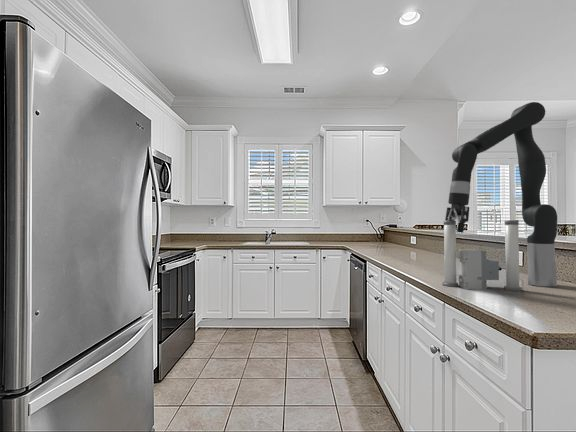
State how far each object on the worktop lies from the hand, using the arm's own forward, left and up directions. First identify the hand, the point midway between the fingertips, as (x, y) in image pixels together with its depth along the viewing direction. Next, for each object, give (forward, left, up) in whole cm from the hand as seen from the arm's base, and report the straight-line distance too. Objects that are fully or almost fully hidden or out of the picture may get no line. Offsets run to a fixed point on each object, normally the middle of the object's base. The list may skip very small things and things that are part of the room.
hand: (454, 232), depth 144 cm
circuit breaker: (-9, -1, -23) cm, 24 cm away
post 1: (+2, -1, -22) cm, 22 cm away
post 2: (-20, -1, -22) cm, 30 cm away
